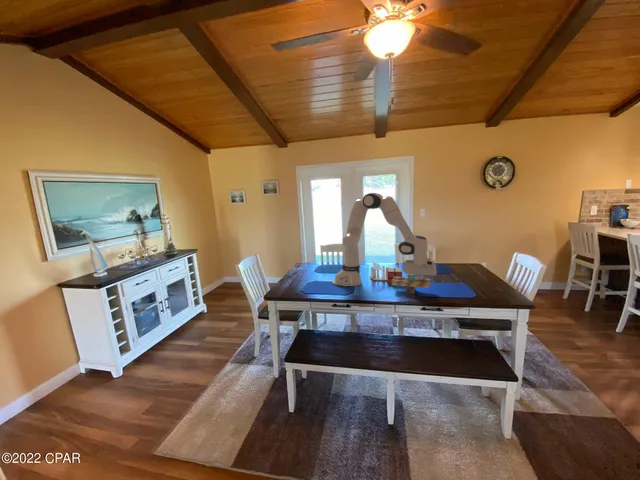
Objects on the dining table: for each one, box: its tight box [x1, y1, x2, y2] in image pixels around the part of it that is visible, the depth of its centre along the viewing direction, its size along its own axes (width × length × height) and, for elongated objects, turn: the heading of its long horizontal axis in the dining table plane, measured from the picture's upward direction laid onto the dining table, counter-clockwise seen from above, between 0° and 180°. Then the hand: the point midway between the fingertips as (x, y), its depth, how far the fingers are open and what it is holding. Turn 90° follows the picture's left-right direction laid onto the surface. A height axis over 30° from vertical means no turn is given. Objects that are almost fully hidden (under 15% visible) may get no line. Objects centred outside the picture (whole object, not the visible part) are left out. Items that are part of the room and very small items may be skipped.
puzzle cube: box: [386, 267, 403, 286], centre depth 203 cm, size 10×10×10 cm
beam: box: [391, 276, 431, 295], centre depth 183 cm, size 24×9×9 cm, turn 67°
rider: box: [407, 274, 416, 281], centre depth 182 cm, size 4×5×5 cm
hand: (419, 280), depth 181 cm, fingers closed
